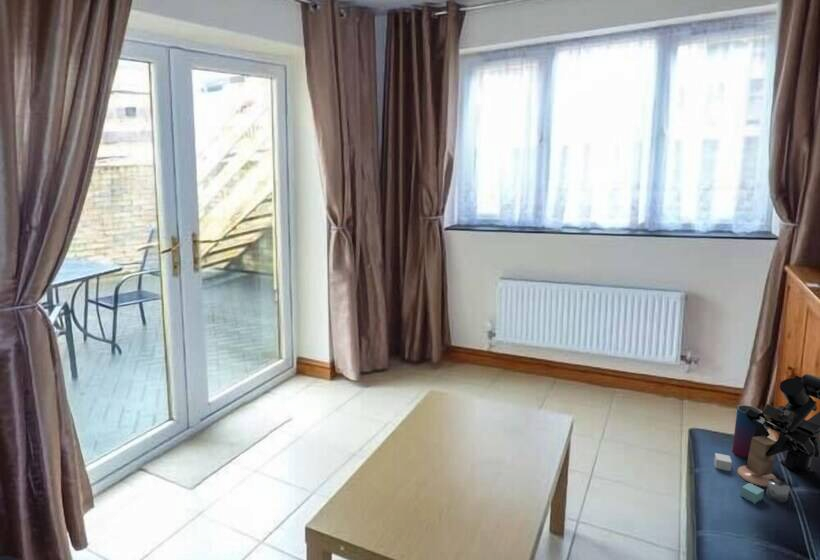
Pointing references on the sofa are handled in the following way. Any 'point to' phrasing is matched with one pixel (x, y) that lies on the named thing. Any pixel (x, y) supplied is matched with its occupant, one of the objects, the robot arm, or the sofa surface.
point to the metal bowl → (777, 490)
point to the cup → (743, 431)
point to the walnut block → (760, 456)
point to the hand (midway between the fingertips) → (758, 451)
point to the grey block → (722, 461)
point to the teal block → (752, 492)
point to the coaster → (754, 477)
